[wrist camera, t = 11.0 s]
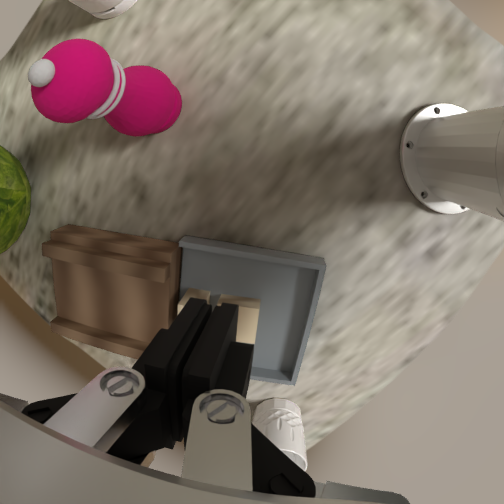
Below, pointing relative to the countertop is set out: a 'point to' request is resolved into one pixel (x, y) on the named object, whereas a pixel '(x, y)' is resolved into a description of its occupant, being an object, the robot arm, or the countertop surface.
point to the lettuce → (12, 199)
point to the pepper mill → (102, 90)
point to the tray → (261, 296)
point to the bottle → (104, 7)
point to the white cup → (282, 428)
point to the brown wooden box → (113, 287)
